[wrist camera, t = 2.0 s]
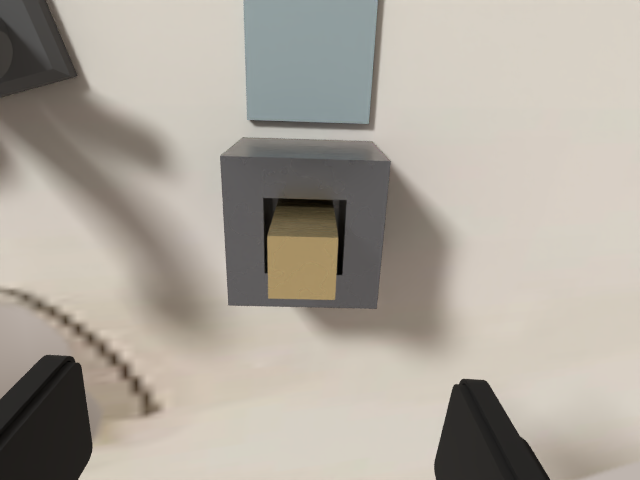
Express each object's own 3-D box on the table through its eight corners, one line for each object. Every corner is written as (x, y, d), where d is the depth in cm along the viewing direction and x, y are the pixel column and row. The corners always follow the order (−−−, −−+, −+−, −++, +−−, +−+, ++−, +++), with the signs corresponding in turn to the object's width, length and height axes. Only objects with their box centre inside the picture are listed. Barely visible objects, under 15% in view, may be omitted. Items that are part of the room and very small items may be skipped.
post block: (372, 141, 35) (390, 161, 27) (363, 259, 39) (376, 308, 31) (242, 137, 35) (220, 155, 26) (247, 256, 39) (228, 305, 30)
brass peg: (330, 186, 34) (338, 237, 23) (328, 231, 36) (335, 300, 25) (282, 184, 34) (267, 235, 23) (282, 229, 36) (268, 298, 25)
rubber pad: (377, -15, 31) (379, -17, 30) (368, 123, 34) (368, 123, 34) (244, -21, 31) (242, -23, 30) (248, 119, 34) (247, 119, 34)
